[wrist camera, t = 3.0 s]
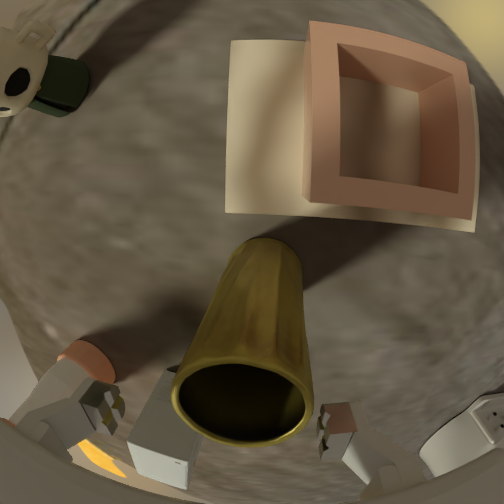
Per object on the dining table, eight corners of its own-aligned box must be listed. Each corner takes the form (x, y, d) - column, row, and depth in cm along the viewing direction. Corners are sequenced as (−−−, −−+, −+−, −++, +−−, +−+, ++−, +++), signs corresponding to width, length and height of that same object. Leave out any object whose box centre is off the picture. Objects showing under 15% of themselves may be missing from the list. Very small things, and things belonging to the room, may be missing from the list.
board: (468, 87, 15) (474, 85, 14) (468, 230, 19) (474, 232, 18) (233, 45, 17) (231, 40, 16) (227, 211, 21) (225, 212, 20)
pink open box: (430, 81, 15) (465, 63, 10) (432, 208, 18) (471, 220, 13) (303, 56, 16) (309, 20, 11) (301, 195, 19) (309, 202, 14)
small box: (164, 367, 26) (124, 439, 16) (215, 382, 26) (189, 462, 16) (165, 410, 28) (135, 473, 18) (208, 423, 28) (187, 491, 18)
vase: (313, 251, 21) (358, 373, 7) (287, 316, 23) (287, 462, 9) (238, 227, 21) (167, 318, 8) (219, 294, 23) (153, 426, 9)
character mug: (46, 145, 21) (-51, 149, 8) (36, 98, 19) (-49, 89, 7) (118, 81, 19) (14, 40, 6) (103, 36, 17) (19, -9, 5)
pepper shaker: (114, 393, 29) (45, 496, 11) (72, 366, 29) (-5, 453, 10) (117, 359, 27) (27, 478, 8) (70, 329, 27) (-29, 422, 8)
